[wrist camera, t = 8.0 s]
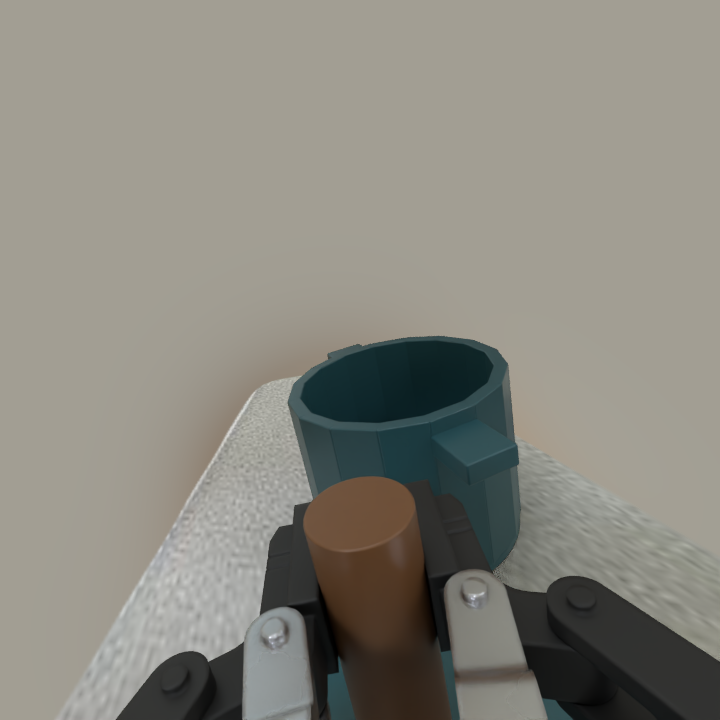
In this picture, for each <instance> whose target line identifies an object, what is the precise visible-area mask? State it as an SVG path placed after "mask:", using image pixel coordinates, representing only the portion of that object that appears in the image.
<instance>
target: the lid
mask: <svg viewBox="0 0 720 720" xmlns="http://www.w3.org/2000/svg"><path fill="white" fill-rule="evenodd" d="M303 527H304V532H305V536H306V539H307V543H308V546H309V550H310V554H311V557H312V561H313V565H314V568H315V572H316V576H317V579H318V583H319V586H320V590H321V594H322V597H323V601H324V604H325V608H326V612H327V615H328V619H329V623H330V626H331V630H332V634H333V637H334V641H335V645H336V648H337V652H338V661H339V673H334V674H329V675H328V701H329V705H330V712H331V719H332V720H460V715H459V708H458V701H457V693H456V686H455V678H454V667H453V660H452V654H451V650H450V651H445V652H441V649H440V645H439V641H438V637H437V632H436V626H435V620H434V615H433V609H432V603H431V597H430V591H429V585H428V580H427V574H426V568H425V562H424V553H423V547H422V541H421V535H420V529H419V523H418V517H417V511H416V506H415V501H414V498H413V496H412V494H411V493H410V491H409V490H408V489H407V488H406V487H405V486H404V485H402V484H401V483H399V482H397V481H395V480H392V479H389V478H384V477H376V476H366V477H357V478H352V479H349V480H345V481H342V482H339V483H337V484H335V485H333V486H331V487H329V488H327V489H326V490H324V491H323V492H321V493H320V494H319V495H318V496H317V497H316V498H315V499H314V500H313V501H312V502H311V503H310V505H309V506H308V508H307V510H306V512H305V515H304V519H303ZM542 701H543V704H544V707H545V711H546V714H547V718H548V720H573V719H572V718H571V717H570V716H569V715H568V714H567V713H566V712H565V711H564V710H563V709H562V708H561V707H560V706H559V705H558V703H557V702H556V700H550V699H543V698H542Z"/></svg>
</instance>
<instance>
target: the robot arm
mask: <svg viewBox="0 0 720 720" xmlns="http://www.w3.org/2000/svg"><path fill="white" fill-rule="evenodd" d="M403 485H404V486H405V487H406V488H407V489H408V490H409V491H410V493H411V494H412V496H413V498H414V501H415V506H416V511H417V517H418V523H419V529H420V535H421V541H422V547H423V553H424V562H425V568H426V574H427V580H428V585H429V591H430V597H431V603H432V609H433V615H434V620H435V626H436V632H437V637H438V641H439V645H440V649H441V652H445V651H450V650H451V654H452V660H453V667H454V678H455V686H456V693H457V701H458V708H459V715H460V720H548V718H547V714H546V711H545V707H544V704H543V701H542V698H543V699H550V700H556V702H557V703H558V705H559V706H560V707H561V708H562V709H563V710H564V711H565V712H566V713H567V714H568V715H569V716H570V717H571V718H572V719H573V720H720V662H719V661H718V660H716V659H715V658H713V657H712V656H710V655H709V654H707V653H706V652H704V651H703V650H701V649H700V648H698V647H696V646H695V645H693V644H692V643H690V642H689V641H687V640H686V639H684V638H683V637H681V636H680V635H678V634H677V633H675V632H674V631H672V630H671V629H669V628H668V627H666V626H664V625H663V624H661V623H660V622H658V621H657V620H655V619H654V618H652V617H651V616H649V615H648V614H646V613H645V612H643V611H642V610H640V609H639V608H637V607H636V606H634V605H632V604H631V603H629V602H628V601H626V600H625V599H623V598H622V597H620V596H619V595H617V594H616V593H614V592H613V591H611V590H610V589H608V588H607V587H605V586H603V585H602V584H600V583H598V582H597V581H594V580H592V579H589V578H586V577H580V576H567V577H563V578H560V579H558V580H556V581H554V582H553V583H552V584H551V585H550V586H549V588H548V590H547V593H540V592H528V591H521V590H517V589H514V588H512V587H509V586H507V585H505V584H504V583H502V581H501V580H500V579H499V578H498V577H496V576H495V575H494V574H493V572H492V570H491V568H490V566H489V564H488V562H487V559H486V557H485V555H484V552H483V550H482V548H481V545H480V543H479V541H478V539H477V536H476V534H475V532H474V530H473V527H472V525H471V522H470V520H469V519H468V516H467V513H466V511H465V509H464V506H463V504H462V503H461V502H460V501H459V500H458V499H456V498H455V497H454V496H453V495H452V494H450V493H448V494H443V495H438V496H434V495H433V492H432V489H431V486H430V483H429V481H428V479H426V480H421V481H416V482H410V483H405V484H403ZM310 503H311V502H309V503H304V504H299V505H295V507H294V517H293V524H292V525H287V526H282V527H279V528H278V530H277V531H276V533H275V534H274V536H273V537H272V539H271V541H270V545H269V552H268V560H267V567H266V569H267V571H266V574H265V581H264V588H263V595H262V603H261V610H260V616H259V617H258V618H257V619H255V620H254V622H253V623H252V624H251V625H250V627H249V628H248V630H247V632H246V635H245V639H244V642H243V643H242V644H240V645H239V646H238V647H236V648H235V649H233V650H231V651H229V652H227V653H225V654H223V655H221V656H219V657H217V658H215V659H213V660H211V661H209V662H208V661H207V659H206V657H205V656H204V655H202V654H201V653H198V652H194V651H188V652H182V653H179V654H177V655H174V656H172V657H171V658H169V659H167V660H166V661H164V662H163V663H162V664H161V665H159V666H158V667H157V668H156V669H155V671H154V672H153V673H152V674H151V675H150V677H149V678H148V679H147V680H146V682H145V683H144V684H143V685H142V687H141V688H140V689H139V691H138V692H137V693H136V694H135V696H134V697H133V698H132V700H131V701H130V702H129V703H128V705H127V706H126V707H125V708H124V710H123V711H122V712H121V714H120V715H119V716H118V717H117V719H116V720H332V719H331V712H330V705H329V701H328V675H329V674H334V673H339V661H338V652H337V648H336V645H335V641H334V637H333V634H332V630H331V626H330V623H329V619H328V615H327V612H326V608H325V604H324V601H323V597H322V594H321V590H320V586H319V583H318V579H317V576H316V572H315V568H314V565H313V561H312V557H311V554H310V550H309V546H308V543H307V539H306V536H305V532H304V527H303V519H304V515H305V512H306V510H307V508H308V506H309V505H310Z"/></svg>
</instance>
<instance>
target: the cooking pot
mask: <svg viewBox="0 0 720 720" xmlns="http://www.w3.org/2000/svg"><path fill="white" fill-rule="evenodd" d="M288 406H289V410H290V414H291V417H292V421H293V425H294V429H295V432H296V436H297V440H298V443H299V447H300V451H301V455H302V458H303V462H304V466H305V470H306V473H307V477H308V481H309V485H310V488H311V492H312V496H313V500H314V499H315V498H316V497H317V496H318V495H319V494H320V493H321V492H323V491H324V490H326V489H327V488H329V487H331V486H333V485H335V484H337V483H339V482H342V481H345V480H349V479H352V478H357V477H366V476H376V477H384V478H389V479H392V480H395V481H397V482H399V483H401V484H402V485H403V484H405V483H410V482H416V481H421V480H426V479H428V481H429V483H430V486H431V489H432V492H433V495H434V496H438V495H443V494H448V493H450V494H452V495H453V496H454V497H455V498H456V499H458V500H459V501H460V502H461V503H462V504H463V506H464V509H465V511H466V513H467V516H468V519H469V520H470V522H471V525H472V527H473V530H474V532H475V534H476V536H477V539H478V541H479V543H480V545H481V548H482V550H483V552H484V555H485V557H486V559H487V562H488V564H489V566H490V568H491V570H494V569H495V568H496V567H497V566H498V565H499V564H500V563H501V562H502V561H503V560H504V559H505V558H506V557H507V555H508V554H509V553H510V551H511V550H512V548H513V546H514V544H515V542H516V540H517V537H518V533H519V528H520V511H521V506H520V494H519V483H518V471H517V465H518V464H519V458H518V446H517V444H516V443H515V437H514V425H513V414H512V403H511V391H510V380H509V368H508V363H507V362H506V361H505V360H504V358H503V357H502V356H501V354H500V353H499V352H498V350H497V349H495V348H492V347H490V346H487V345H485V344H482V343H480V342H477V341H475V340H470V339H461V338H453V337H445V336H428V337H408V338H401V339H395V340H390V341H384V342H378V343H373V344H368V345H365V346H361V345H360V344H357V345H353V346H350V347H347V348H344V349H341V350H338V351H334V352H331V353H328V360H327V361H325V362H323V363H321V364H319V365H317V366H315V367H313V368H311V369H310V370H309V371H308V372H306V373H305V374H304V375H303V376H302V377H301V378H300V379H299V380H297V381H296V382H295V383H294V384H293V387H292V390H291V393H290V396H289V399H288Z"/></svg>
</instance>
